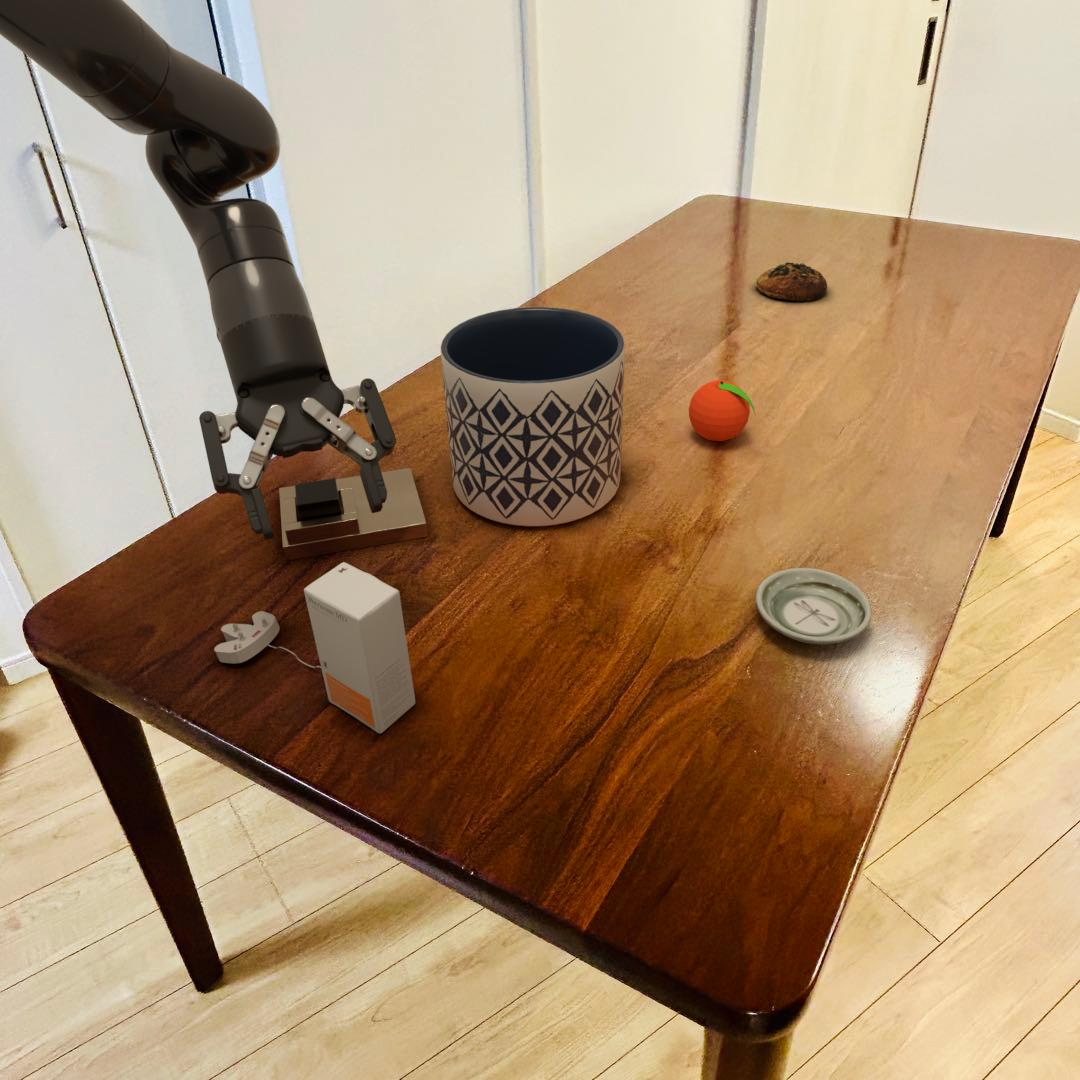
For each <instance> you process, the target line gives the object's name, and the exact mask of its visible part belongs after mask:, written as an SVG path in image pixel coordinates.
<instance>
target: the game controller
mask: <svg viewBox="0 0 1080 1080" xmlns="http://www.w3.org/2000/svg"><path fill="white" fill-rule="evenodd" d="M251 620H252V622H253V625H252V624H249V623H227V624H224V625H222V627H221V628H220V630H221V633H222V634H223V637H224V639H225V642H220V643H219V644H217V645H216V646H215V647H214V652H215V655H216V658H217V659H218V661H219V662H220V663H222V664H223V663H225V664H232V665H233V664H242V663H244V662H247V661H248V660H250V659H251V658H253V657H255V656H256V655H257V654H259V653H261V651H263V650H264V649H265V648H266V647H270V648H273V649H283V650H284V651H287V652H289V653H290V654H292V655H293V656H294V657H295V658H296V660H297V661H299V662H300V663H302V664H304V665H305V666H308V667H310V668H313V669H314V668H320V669H321V665H316V666H313V665H310V664H308V663H306V662H304V661H303V660H302V659H300V658H299V657H298V656H297V654H296V653H294V652H293V651H291V650H289V649H287V648H285V647H283V646H278V647H277V646H274V645H271V644H270V643H271V642H272V641H273V640H275V638H276V637H277V635H278V634H279V632H280V628H281V627H280V625H279V623H278V620H277V618H276V616H275V615H273V614H272V613H269V612H266V611H263V610H260V611H257V612H255V613H254V614H252V616H251Z"/></svg>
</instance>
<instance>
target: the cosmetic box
mask: <svg viewBox="0 0 1080 1080" xmlns="http://www.w3.org/2000/svg"><path fill="white" fill-rule="evenodd" d="M303 593H304V597H305V603H306V607H307V611H308V615H309V620H310V624H311V628H312V633H313V638H314V642H315V646H316V651H317V656H318V660H319V665H320V667H321V668H320V669H321V672H322V677H323V681H324V687H325V692H326V696H327V700H328V702H329V703H330V704H332V705H334V706H336V707H338V708H339V709H340V710H342V711H344V712H345V713H347V714H349V715H351V717H353V718H355V719H357V720H358V721H359V722H361V723H362V724H364V725H366V726H367V727H368V728H370V729H371V730H373V731H374V732H376V733H377V734H379V735H380V734H382V733H384V732H385V731H386V730H387V729H388V728H389V727H391V726H392V725H393V724H394V723H395V722H396V721H398V719H400V717H402V716H403V715H405V713H407V712H408V711H409V710H411V709H412V707H414V706H415V705H416V696H415V688H414V682H413V675H412V668H411V662H410V656H409V649H408V642H407V635H406V628H405V621H404V615H403V608H402V601H401V593H400V590H398V589H397V588H395V587H394V586H391V585H389V584H387V583H385V582H384V581H382V580H380V579H379V578H377V576H374V575H373V574H370V573H369V572H365V571H363V570H361V569H359V568H357V567H355V566H353V565H351V564H349V563H347V562H345V561H343V562H340V563H339V564H338V565H336V566H335V567H333V568H332V569H330V570H329V571H328V572H326V573H324V574H323V575H322V576H320V577H318V578H317V579H315V580H314V581H312V582H311V583H310V584H308V585H307V586H306V587H305V588H303Z"/></svg>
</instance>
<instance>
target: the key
mask: <svg viewBox="0 0 1080 1080" xmlns="http://www.w3.org/2000/svg"><path fill="white" fill-rule="evenodd" d="M336 479H337V478H335V477H334V478H326V479H321V480H315V481H307V482H300V483H295V484H294V486H295V492H296V504H297V510H298V514H299V519H300V522H301V521H307V520H313V519H319V518H325V517H331V516H337V515H342V514H341V508H340V501H339V495H338V490H337V484H336Z"/></svg>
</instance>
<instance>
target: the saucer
mask: <svg viewBox="0 0 1080 1080" xmlns="http://www.w3.org/2000/svg"><path fill="white" fill-rule="evenodd" d="M755 605H756V609H757V611H758V613H759V615H760V616H761V618H762V619H763V620H764V622H765V623H766V624H768V625H769V626H770V627H771V628H772V629H774V630H775V631H776V632H778V633H780V634H782V636H785V637H787V638H789V639H792V640H794V641H796V642H800V643H805V644H808V645H809V644H810V645H832V644H840V643H844V642H847V641H850V640H852V639H855V638H856V637H858V636H859V635H861V634H862V633H863V632H865V631H866V629H867V628H868V626H869V625H870V622H871V620H872V616H873V615H872V614H873V613H872V611H873V609H872V606H871V603H870V601H869V599H868V597H867V595H866V594H865V593H864V592H863V590H862V589H860V588H859V587H858V586H857V585H856V584H855V583H853V582H852V581H850V580H848V579H847V578H846V577H844V576H840V575H839V574H836V573H833V572H830V571H827V570H825V569H824V570H823V569H818V568H812V567H793V568H787V569H782V570H779V571H776V572H774V573H772V574H770V575H769V576H767V577H766V578H764V580H762V581H761V582H760V584H759V585H758V587H757V588H756V592H755Z"/></svg>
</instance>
